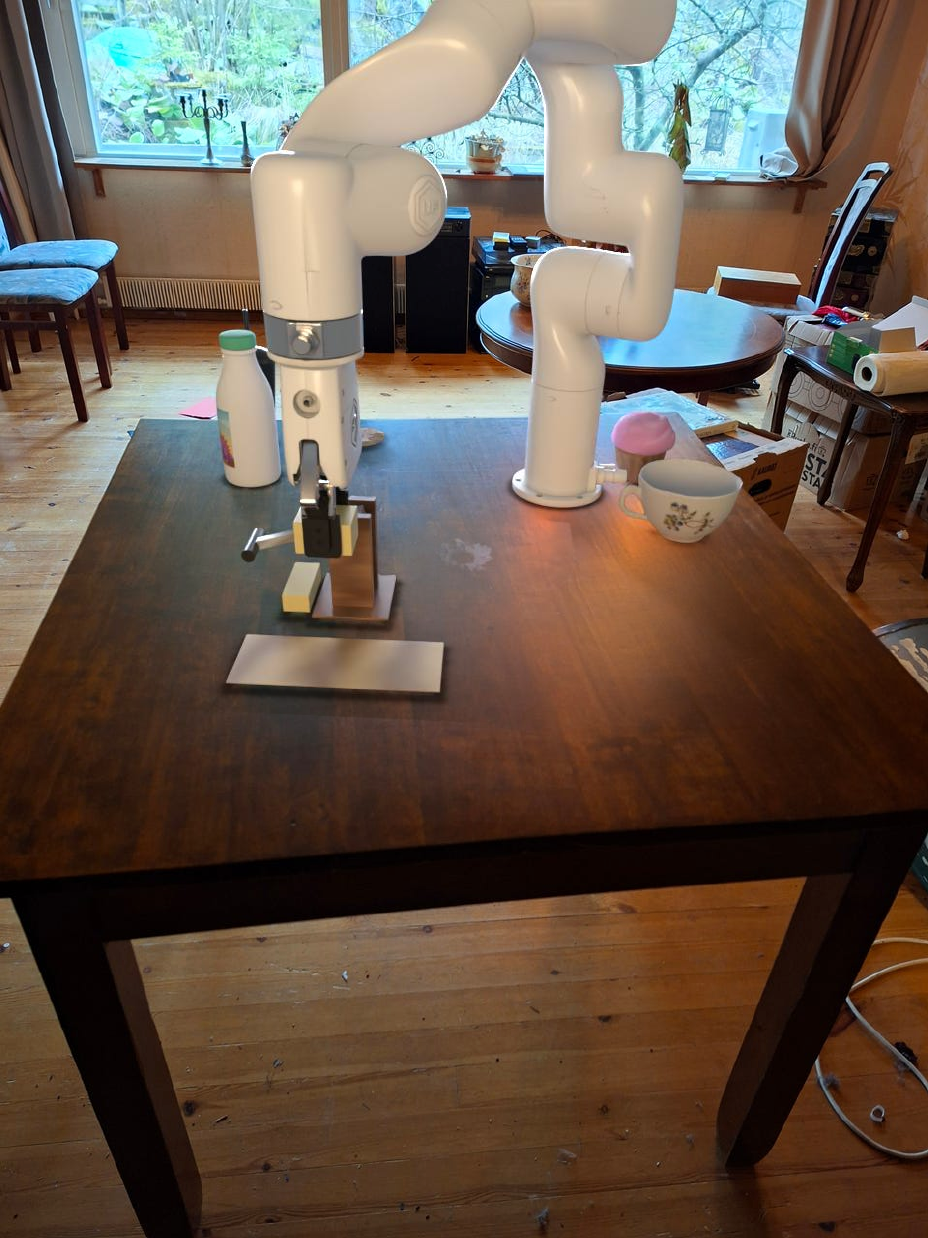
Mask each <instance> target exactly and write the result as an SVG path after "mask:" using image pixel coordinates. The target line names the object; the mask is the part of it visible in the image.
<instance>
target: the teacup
mask: <svg viewBox="0 0 928 1238" xmlns="http://www.w3.org/2000/svg"><path fill="white" fill-rule="evenodd" d="M743 484H744V482H743V480H742V478H741V477H740V476H737V475H736V474H735V473H733V472H732V471H730V470H728V469H726V468H725V467H724V468H723V467H722V466H721V467H720V466H718V465H713V464H711V463H709V462H705V461H701V460H697V459H692V458H677V457H673V458H664V460H656V461H653V462H650V463H647V464H646V465H645V466H644V467H642V468H641V470H640V473H639V478H638V483H637V485H638V486H637V485H635V484H629V485H626V486H625V487H624V488H623V489H622V490H621V492H620V493H619V499H618V506H619V509H620V511H621V512H622V513H623V514H624V515H625V516H626V517H628V518H632V519H638V520H644V521H646V522H648V523H649V524H650V525H651V526H652V527H653V528H654V529H655V530H656V531H657V532H658V534H659V535H660V536H661V537H663V538H664V539H666V540H668V541H672V542H675V543H683V544H691V543H695V542H699V541H700V540H702V539H704V537H705V536H707V535H709V534H710V533H712V532H713V531H715V530H716V529H717V528H719V526H720V525H722V523H724V521H725V520H726V519H727V518H728V516H729V515H730V513H731V512H732V510H733V508H734V507H735V504H736V502H737V500H738V497H739V494H740V491H741V489H742V487H743ZM631 494H634V495H635V496H636V497H637V500H639V502H640V505H641V508H642V510H643V513H638V512H636V511H633V510H631V509H629V508H628V507H627V506H626V505H625V502H626V499H627V497H628V496H630V495H631Z"/></svg>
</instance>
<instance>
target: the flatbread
mask: <svg viewBox="0 0 928 1238" xmlns="http://www.w3.org/2000/svg"><path fill="white" fill-rule="evenodd" d="M361 436H362V448H364V447H371V446H375V445H377V444H380V443H382V442H383V441H384V440H385V439H386V434H385V432H384V431H381V430H378V429H376V428H373V427H361Z"/></svg>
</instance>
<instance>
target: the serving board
mask: <svg viewBox="0 0 928 1238" xmlns="http://www.w3.org/2000/svg"><path fill="white" fill-rule="evenodd" d="M444 646H445V643H444V642H442V641H441V642H437V641H415V640H414V641H413V640H395V639H393V640H392V639H391V640H390V639H368V638H367V639H365V638H343V637H319V636H299V635H298V636H297V635H296V636H295V635H271V634H250V633H248V634H246V635H245V637H244V640H243V642H242V645H241V646H240V649H239V651H238V654H237V656H236V658H235V661H234V663H233V665H232V667H231V670H230V671H229V674H228V677H227V679H226V681H225V684H237V685H238V684H239V685H263V686H285V687H287V686H288V687H308V688H309V687H311V688H330V689H332V688H333V689H334V688H335V689H354V690H355V689H358V690H376V691H377V690H380V691H399V692H401V691H402V692H403V691H404V692H423V693H424V692H425V693H427V692H428V693H440V692H441V680H442V669H443V660H444V659H443V657H444Z"/></svg>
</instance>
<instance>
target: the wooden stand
mask: <svg viewBox="0 0 928 1238" xmlns="http://www.w3.org/2000/svg"><path fill="white" fill-rule="evenodd" d="M359 505H363V506H364V509H365V512H366V514H357V517H358V537H357V541H356V544H355V547H354V551H353V554H352V556H342V555H341V557H340V558H337V559H336V558H328V562H329V572H326V573H325V575H324V579H323V581H322V585H321V588H320V591H319V593H318V597H317V599H316V603H315V606H314V608H313V612H312V615H311V618H312V619H329V620H331V619H333V620H355V621H356V620H358V621H380V622H381V621H382V622H389V619H390V615H391V609H392V605H393V598H394V594H395V589H396V588H395V587H396V584H397V579H398V578H397V574H379V548H378V546H379V544H378V542H379V541H378V515H377V513H378V512H377V510H378V509H377V497H376V496H361V495H359V496H358V495H349V506H359Z"/></svg>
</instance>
